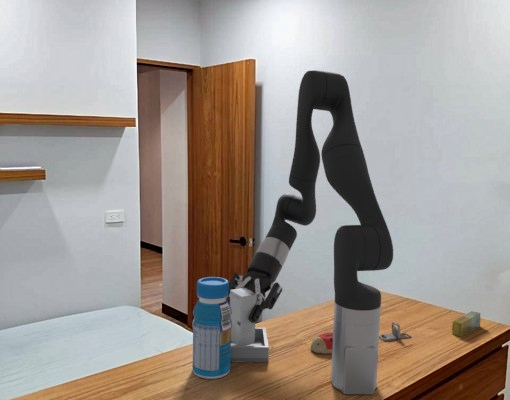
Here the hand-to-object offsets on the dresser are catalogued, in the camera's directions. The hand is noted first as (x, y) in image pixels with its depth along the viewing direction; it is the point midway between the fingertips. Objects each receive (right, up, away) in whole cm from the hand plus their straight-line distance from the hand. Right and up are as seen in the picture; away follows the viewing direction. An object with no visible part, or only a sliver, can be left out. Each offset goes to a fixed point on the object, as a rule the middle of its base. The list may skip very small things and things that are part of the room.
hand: (238, 317), depth 114 cm
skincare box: (+1, -6, +2) cm, 7 cm away
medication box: (+61, -9, +19) cm, 65 cm away
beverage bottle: (-6, -10, -9) cm, 14 cm away
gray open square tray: (+1, -8, +2) cm, 9 cm away
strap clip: (+40, -9, +13) cm, 43 cm away
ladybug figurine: (+22, -9, +5) cm, 24 cm away
